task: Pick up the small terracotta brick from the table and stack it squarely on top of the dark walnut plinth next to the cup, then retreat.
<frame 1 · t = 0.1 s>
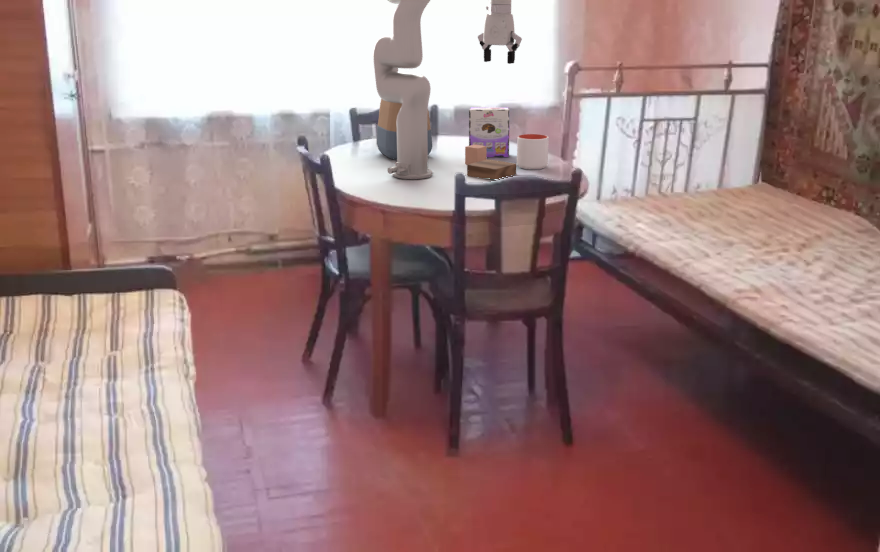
hand: (499, 62, 320), 31 cm above the table, fingers open, 9 cm apart
tan two-tone rounded container: (404, 156, 327), on the table
plinth: (491, 175, 297), on the table
brick: (475, 164, 313), on the table
cup: (532, 167, 308), on the table
candy box: (489, 156, 326), on the table
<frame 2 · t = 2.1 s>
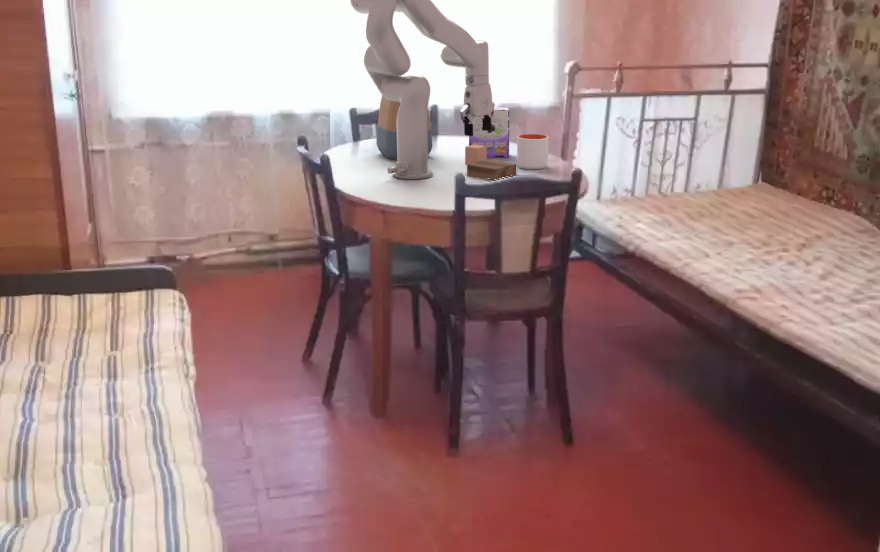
hand: (477, 132, 310), 10 cm above the table, fingers open, 9 cm apart
nothing on the table moved.
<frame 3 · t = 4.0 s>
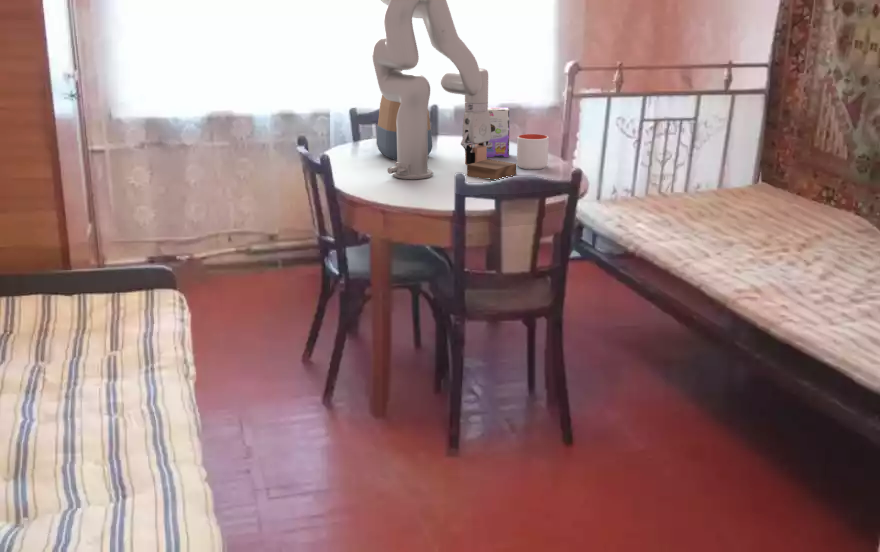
hand: (475, 162, 312), 1 cm above the table, fingers closed on brick, 5 cm apart
brick: (475, 164, 313), on the table, touching gripper
everything else where it was.
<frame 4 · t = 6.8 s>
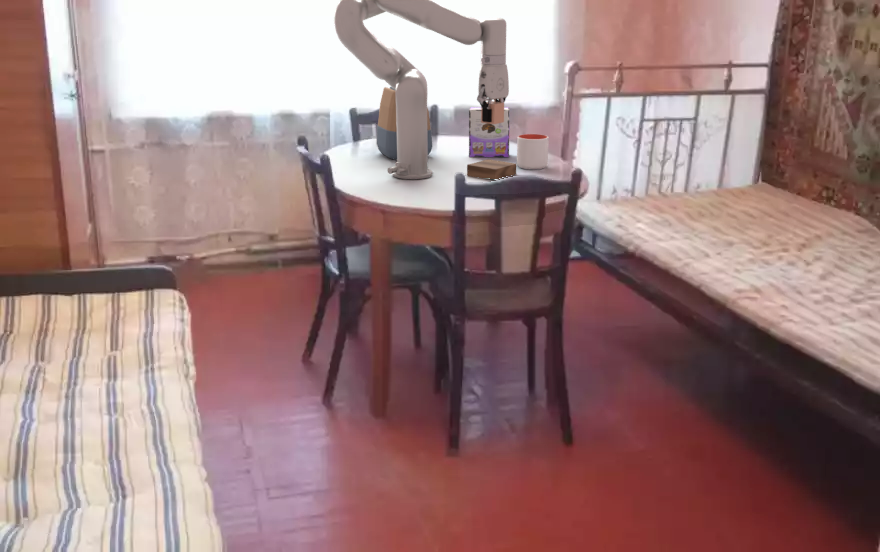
hand: (492, 120, 291), 17 cm above the table, fingers closed on brick, 5 cm apart
brick: (492, 122, 292), point 17 cm above the table, touching gripper
everything else where it was.
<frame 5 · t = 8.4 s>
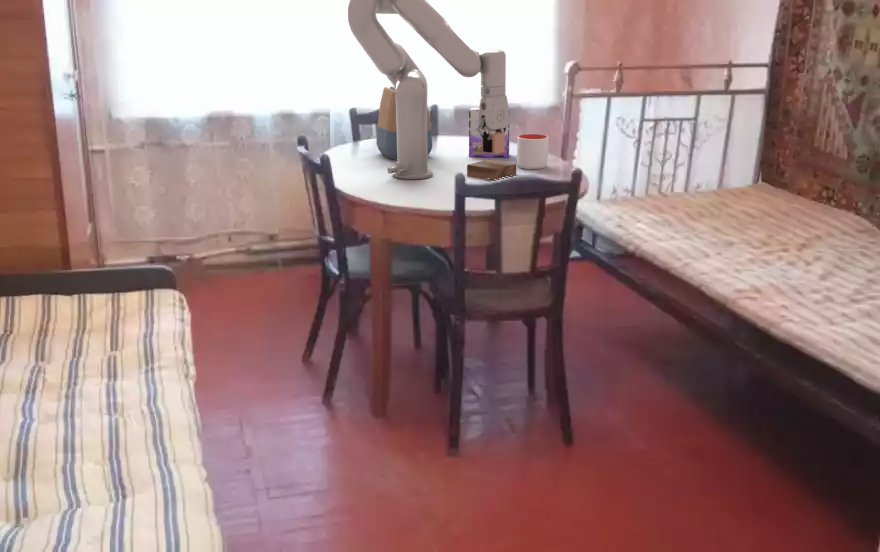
hand: (493, 149, 294), 8 cm above the table, fingers closed on brick, 5 cm apart
brick: (493, 152, 295), point 7 cm above the table, touching gripper
everything else where it was.
when the fingers open (6 cm above the table, at t = 9.7 s): brick drops 1 cm, resting on plinth.
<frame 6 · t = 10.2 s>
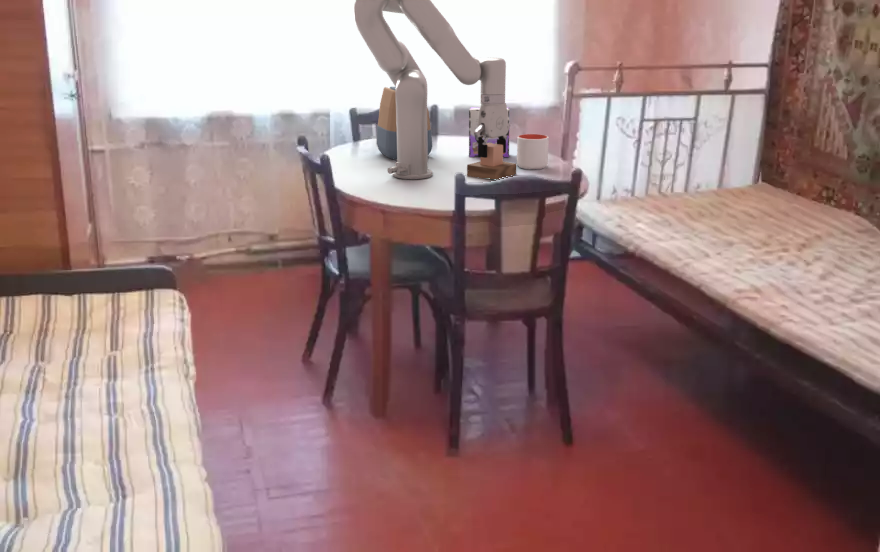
hand: (492, 154, 295), 6 cm above the table, fingers open, 9 cm apart
brick: (491, 164, 296), point 3 cm above the table, touching plinth
everything else where it was.
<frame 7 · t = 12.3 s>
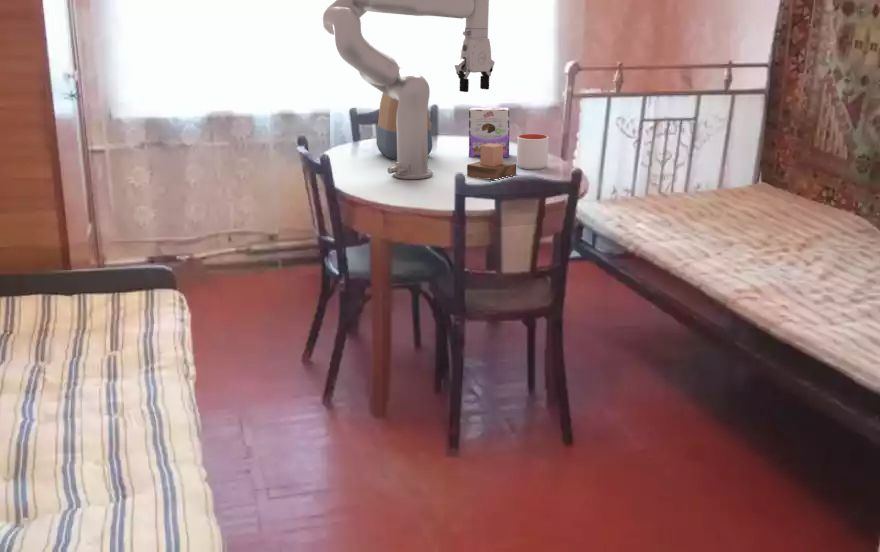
hand: (474, 90, 297), 25 cm above the table, fingers open, 9 cm apart
nothing on the table moved.
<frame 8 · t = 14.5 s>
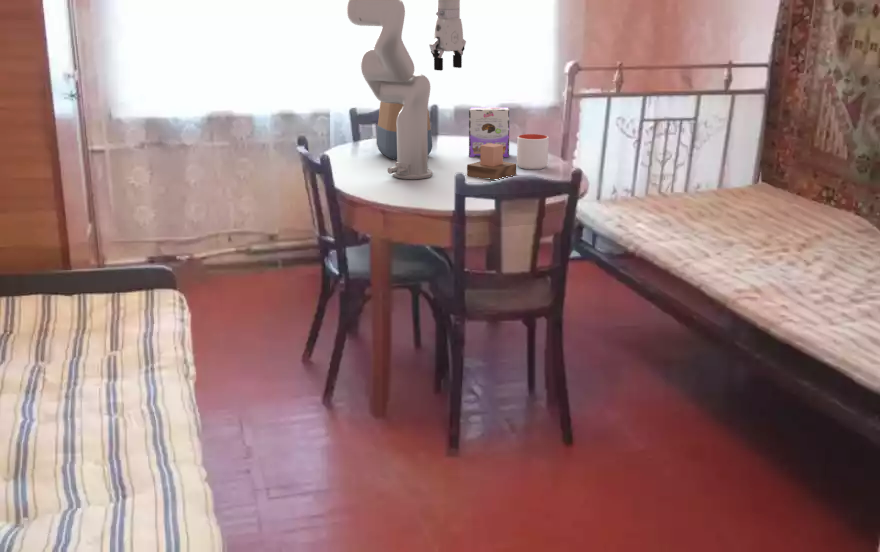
hand: (448, 68, 309), 30 cm above the table, fingers open, 9 cm apart
nothing on the table moved.
at the end: brick inside the target area on the plinth (0.1 cm from its centre), point 3.5 cm above the plinth's base; brick tilted 0°; the gripper is holding nothing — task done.
